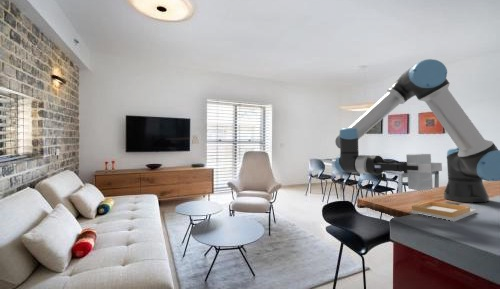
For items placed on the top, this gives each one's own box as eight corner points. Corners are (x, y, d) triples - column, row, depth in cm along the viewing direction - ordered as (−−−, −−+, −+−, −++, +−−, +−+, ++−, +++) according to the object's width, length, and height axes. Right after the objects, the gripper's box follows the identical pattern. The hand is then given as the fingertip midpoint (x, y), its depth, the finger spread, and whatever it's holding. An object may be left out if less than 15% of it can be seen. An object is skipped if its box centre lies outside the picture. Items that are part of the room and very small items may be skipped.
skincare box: (421, 187, 87) (420, 153, 87) (433, 189, 83) (431, 153, 83) (407, 188, 86) (405, 154, 86) (418, 190, 81) (416, 154, 82)
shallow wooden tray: (434, 206, 101) (434, 199, 101) (476, 212, 89) (475, 205, 89) (411, 213, 92) (411, 205, 92) (454, 221, 80) (453, 213, 80)
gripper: (384, 172, 105) (450, 176, 85) (355, 176, 95) (421, 182, 75) (384, 154, 105) (449, 154, 85) (354, 156, 95) (420, 157, 75)
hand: (435, 167), depth 80 cm, fingers closed on skincare box, 7 cm apart
